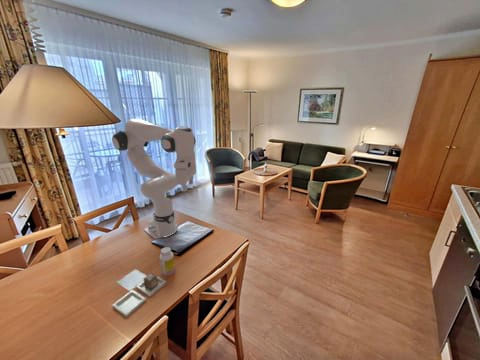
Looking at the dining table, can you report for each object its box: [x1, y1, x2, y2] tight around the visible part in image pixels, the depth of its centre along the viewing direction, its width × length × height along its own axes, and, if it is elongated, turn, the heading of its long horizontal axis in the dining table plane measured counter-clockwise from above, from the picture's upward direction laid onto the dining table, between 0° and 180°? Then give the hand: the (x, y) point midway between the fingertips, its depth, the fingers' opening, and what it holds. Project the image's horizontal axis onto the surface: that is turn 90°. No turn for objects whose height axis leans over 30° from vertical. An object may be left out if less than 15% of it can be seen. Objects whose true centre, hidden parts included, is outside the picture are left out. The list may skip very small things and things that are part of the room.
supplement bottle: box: [159, 246, 176, 276], centre depth 106 cm, size 7×7×13 cm
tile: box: [115, 268, 147, 292], centre depth 102 cm, size 10×10×1 cm
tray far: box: [112, 289, 147, 318], centre depth 90 cm, size 9×9×2 cm
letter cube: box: [144, 272, 158, 290], centre depth 98 cm, size 4×4×5 cm
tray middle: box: [135, 275, 167, 298], centre depth 99 cm, size 9×9×2 cm
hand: (188, 187), depth 109 cm, fingers open, 8 cm apart
